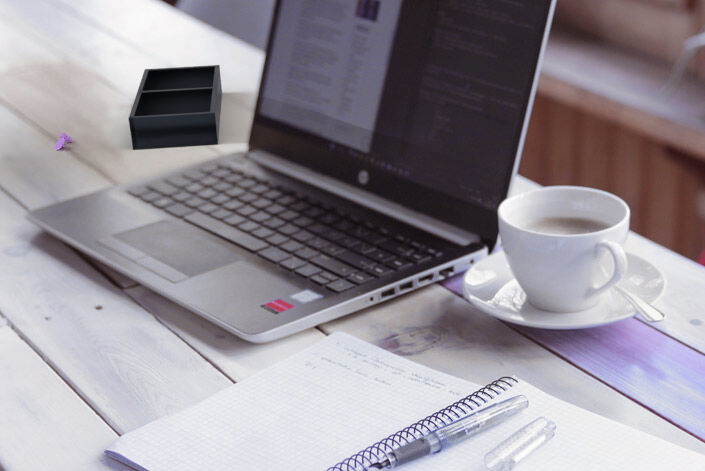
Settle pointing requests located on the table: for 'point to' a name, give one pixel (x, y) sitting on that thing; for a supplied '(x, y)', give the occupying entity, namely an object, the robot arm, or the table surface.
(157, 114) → the open black box
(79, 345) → the table surface
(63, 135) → the purple lumpy piece
